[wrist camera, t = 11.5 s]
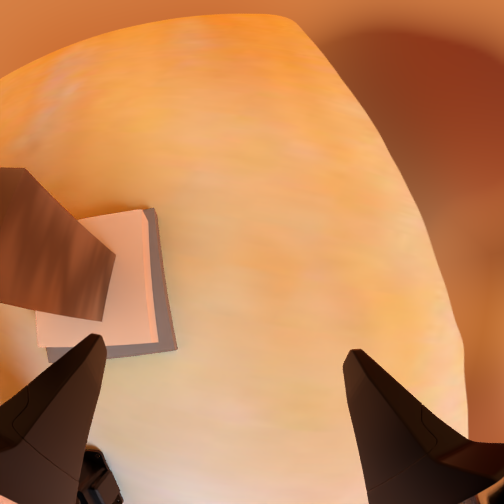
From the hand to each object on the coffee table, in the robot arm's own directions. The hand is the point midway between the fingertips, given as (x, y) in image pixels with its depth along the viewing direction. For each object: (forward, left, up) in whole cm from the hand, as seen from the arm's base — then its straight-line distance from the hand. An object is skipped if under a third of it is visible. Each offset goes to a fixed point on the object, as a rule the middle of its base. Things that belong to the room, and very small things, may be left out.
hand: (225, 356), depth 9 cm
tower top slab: (-9, +6, -12) cm, 17 cm away
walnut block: (-9, +6, -10) cm, 15 cm away
